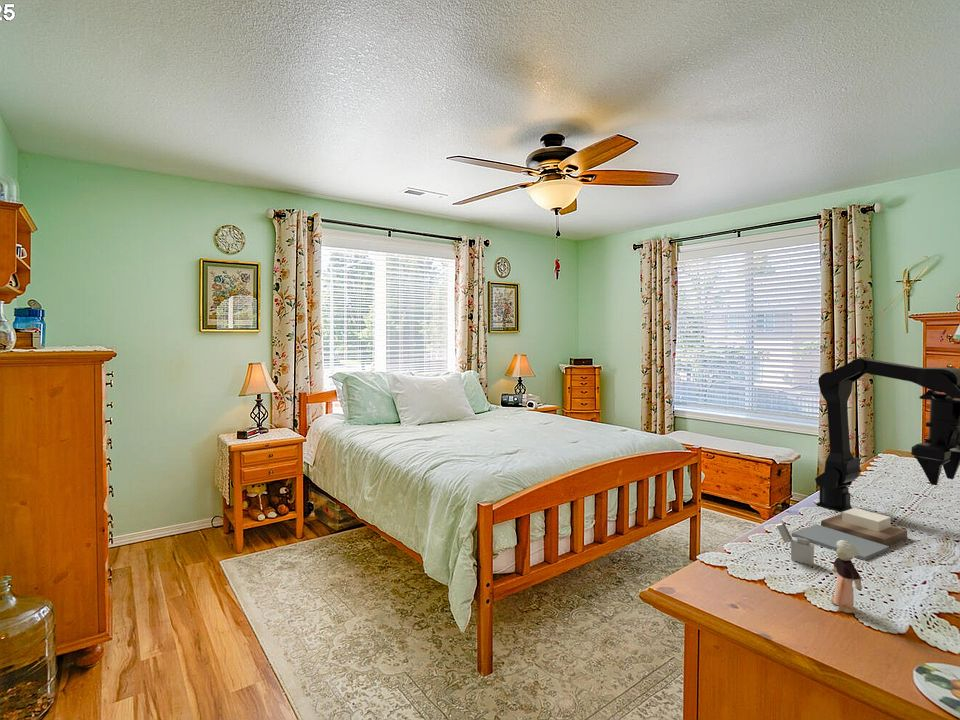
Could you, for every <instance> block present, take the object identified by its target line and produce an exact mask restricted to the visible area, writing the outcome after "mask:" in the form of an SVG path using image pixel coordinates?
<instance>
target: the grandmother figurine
mask: <svg viewBox="0 0 960 720" xmlns="http://www.w3.org/2000/svg"><path fill="white" fill-rule="evenodd" d="M836 545H837V547H838V548H837V551H835V552H836V556H837V557H836V558H835V560H834V562H833V568H832V572H834V573H835V574H837V577H836V583H835V584H836V585H835V590H834V596H833V597H831V598H830V602H831V604H833V605H836V606H838V609H839V611H841V612H842V613H846V614H852V613H857V612H858V611H857V609H856V607H854V601H855V600H854V599H855V598H854V587H855V589H857V590H859V591H861V590H863V586H862V581H861V580H862V577H861V575H860V574H859V572H858V570H857V568H856V567H855V565H854V563H853V562H852V560H853V559H854V558H856V557H855V556H858V554H859V553H858V551H857V550H856V548H855V547H854V546H853V544H851V543H849V542H847V541H844V540H839V541H838V542H837V544H836ZM853 583H854V584H855V585H854V587H853Z"/></svg>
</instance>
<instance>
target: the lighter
mask: <svg viewBox="0 0 960 720" xmlns="http://www.w3.org/2000/svg"><path fill="white" fill-rule="evenodd" d="M775 526H776V528H777V531H778V532H779V534H780V536H781V538H782V540H783V542H784V543H790V561H791V560H793V561H792V562H795V561H797V562H796V563H799V562H801V563H800V564H803V563H805V564H804V565H807V564H809V565H808V566H811V565H813V566H814V564H815V544H814V543H811V542H809V541H808V540H807V539H804V538H800V537H798V538H796V539H793V536H792V534H791V533H790V532H789V530H788V527H787V525H786V523H785V522H784V521H782V522H781V521H780V522H777V523H776V524H775ZM813 563H814V564H813Z"/></svg>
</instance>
